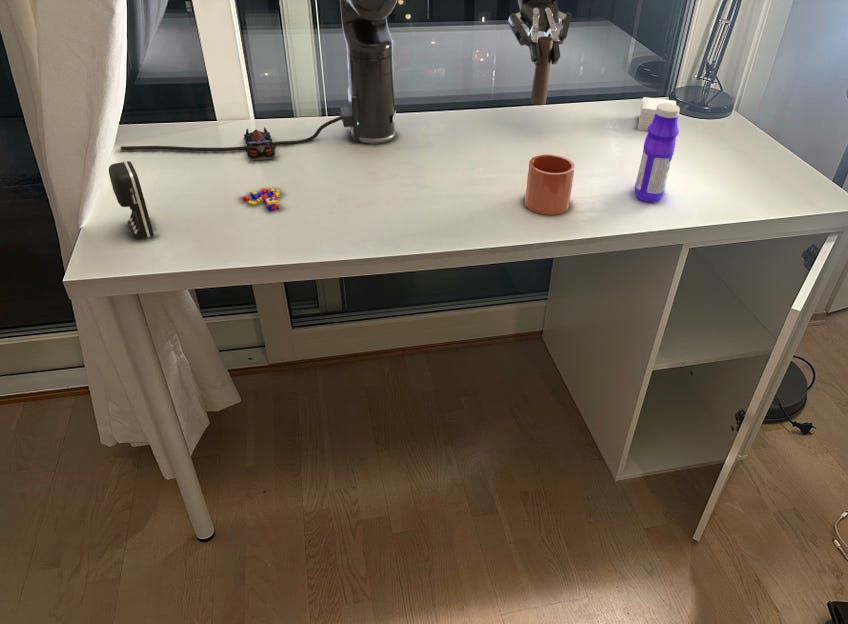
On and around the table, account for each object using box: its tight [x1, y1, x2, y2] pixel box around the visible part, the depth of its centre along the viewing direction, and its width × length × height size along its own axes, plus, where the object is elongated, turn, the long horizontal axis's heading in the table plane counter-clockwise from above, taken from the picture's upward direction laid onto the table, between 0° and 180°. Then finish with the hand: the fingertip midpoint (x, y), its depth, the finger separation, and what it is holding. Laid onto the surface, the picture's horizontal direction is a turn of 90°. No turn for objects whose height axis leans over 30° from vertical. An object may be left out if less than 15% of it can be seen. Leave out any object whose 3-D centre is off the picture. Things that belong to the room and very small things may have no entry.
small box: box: [637, 96, 677, 132], centre depth 163 cm, size 8×8×5 cm
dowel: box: [530, 35, 553, 106], centre depth 147 cm, size 3×3×13 cm
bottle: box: [634, 103, 681, 203], centre depth 131 cm, size 7×6×17 cm
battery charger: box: [108, 160, 155, 239], centre depth 115 cm, size 7×4×11 cm, turn 30°
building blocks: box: [242, 186, 281, 212], centre depth 128 cm, size 6×8×2 cm
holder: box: [524, 154, 576, 216], centre depth 130 cm, size 8×8×8 cm
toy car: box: [243, 126, 277, 161], centre depth 144 cm, size 6×12×4 cm, turn 18°
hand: (546, 62), depth 144 cm, fingers closed on dowel, 3 cm apart
